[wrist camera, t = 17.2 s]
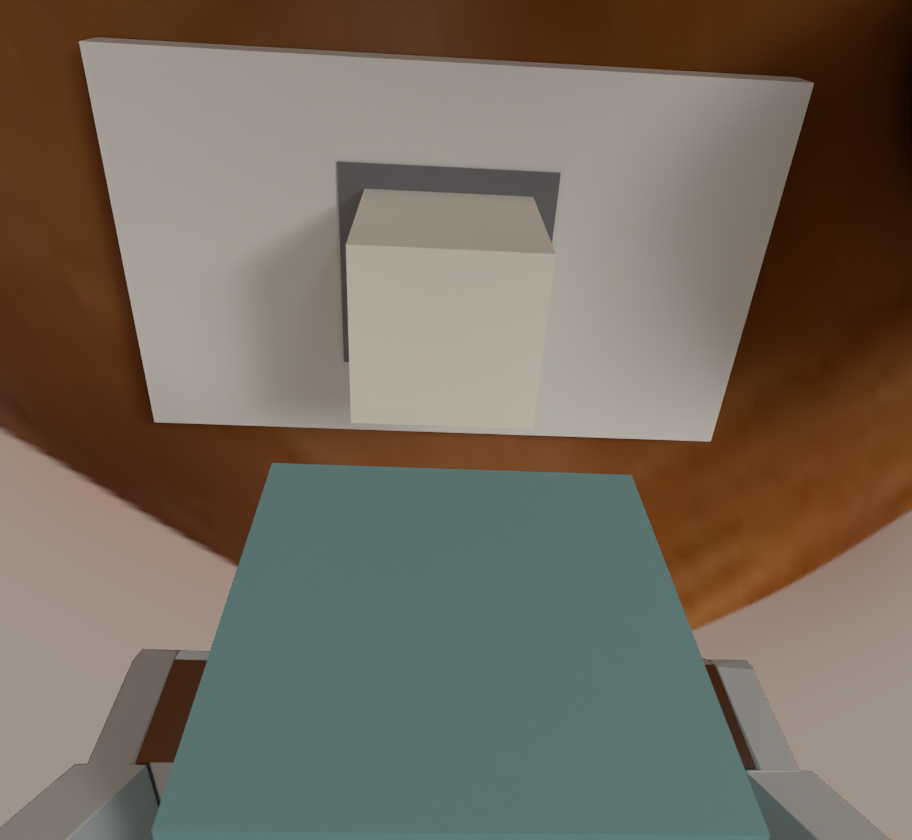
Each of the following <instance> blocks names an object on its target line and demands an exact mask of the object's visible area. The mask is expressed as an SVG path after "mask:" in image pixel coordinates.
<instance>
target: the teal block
mask: <svg viewBox="0 0 912 840" xmlns="http://www.w3.org/2000/svg"><path fill="white" fill-rule="evenodd" d="M151 832H152V836H153V839H154V840H768V839H769V837H770V833H769V831H768V828H767V826H766V823H765V820H764V818H763V815H762V813H761V810H760V807H759V805H758V802H757V800H756V797H755V794H754V792H753V789H752V787H751V784H750V781H749V779H748V776H747V774H746V771H745V768H744V766H743V763H742V761H741V758H740V755H739V753H738V750H737V748H736V745H735V742H734V740H733V737H732V735H731V732H730V729H729V727H728V724H727V722H726V719H725V716H724V714H723V711H722V709H721V706H720V704H719V701H718V698H717V696H716V693H715V691H714V688H713V685H712V683H711V680H710V678H709V675H708V672H707V670H706V667H705V665H704V662H703V659H702V657H701V654H700V652H699V649H698V646H697V644H696V641H695V639H694V636H693V633H692V631H691V628H690V626H689V623H688V620H687V618H686V615H685V613H684V610H683V607H682V605H681V602H680V600H679V597H678V594H677V592H676V589H675V587H674V584H673V581H672V579H671V576H670V574H669V571H668V568H667V566H666V563H665V561H664V558H663V555H662V553H661V550H660V548H659V545H658V542H657V540H656V537H655V535H654V532H653V529H652V527H651V524H650V522H649V519H648V516H647V514H646V511H645V509H644V506H643V503H642V501H641V498H640V496H639V493H638V491H637V488H636V485H635V483H634V480H633V478H632V475H617V474H587V473H557V472H527V471H497V470H467V469H437V468H407V467H377V466H346V465H316V464H286V463H272V465H271V468H270V471H269V474H268V477H267V480H266V483H265V486H264V489H263V492H262V495H261V498H260V501H259V504H258V507H257V510H256V513H255V517H254V520H253V523H252V526H251V529H250V532H249V535H248V538H247V541H246V544H245V547H244V550H243V553H242V556H241V559H240V562H239V565H238V568H237V571H236V574H235V577H234V580H233V583H232V586H231V590H230V593H229V596H228V599H227V602H226V605H225V608H224V611H223V614H222V617H221V620H220V623H219V626H218V629H217V632H216V635H215V638H214V641H213V644H212V647H211V650H210V653H209V656H208V659H207V663H206V666H205V669H204V672H203V675H202V678H201V681H200V684H199V687H198V690H197V693H196V696H195V699H194V702H193V705H192V708H191V711H190V714H189V717H188V720H187V723H186V726H185V729H184V732H183V736H182V739H181V742H180V745H179V748H178V751H177V754H176V757H175V760H174V763H173V766H172V769H171V772H170V775H169V778H168V781H167V784H166V787H165V790H164V793H163V796H162V799H161V802H160V805H159V809H158V812H157V815H156V818H155V821H154V824H153V827H152V830H151Z"/></svg>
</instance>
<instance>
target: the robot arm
mask: <svg viewBox="0 0 912 840" xmlns="http://www.w3.org/2000/svg"><path fill="white" fill-rule="evenodd" d="M209 653H210V652H209V651H187V650H152V649H151V650H150V649H142V650H141V651H140V653H139V654H138V655H137V656H136V657H135V658H134V660H133V661H132V663H131V666H130V668H129V671H128V673H127V675H126V677H125V679H124V682H123V684H122V686H121V689H120V691H119V693H118V695H117V698H116V700H115V702H114V704H113V707H112V709H111V711H110V713H109V716H108V718H107V720H106V722H105V725H104V727H103V729H102V732H101V734H100V736H99V738H98V741H97V743H96V745H95V748H94V750H93V752H92V754H91V757H90V759H89V761H88V763H87V764H75V765H73V766H72V767H71V768H70V769H69V770H68V771H66V772H65V773H64V774H63V775H62V776H61V777H59V778H58V779H57V780H56V781H54V782H53V783H52V784H51V785H50V786H49V787H47V789H45V790H44V791H43V792H42V793H40V794H39V795H38V796H37V797H36V798H35V799H33V800H32V801H31V802H30V803H28V804H27V805H26V806H25V807H24V808H23V809H21V810H20V811H19V812H18V813H17V814H15V815H14V817H12V818H11V819H10V820H8V821H7V822H6V823H5V824H4V825H3V826H1V827H0V840H154V839H153V836H152V832H151V830H152V827H153V824H154V821H155V818H156V815H157V812H158V809H159V805H160V802H161V799H162V796H163V793H164V790H165V787H166V784H167V781H168V778H169V775H170V772H171V769H172V766H173V763H174V760H175V757H176V754H177V751H178V748H179V745H180V742H181V739H182V736H183V732H184V729H185V726H186V723H187V720H188V717H189V714H190V711H191V708H192V705H193V702H194V699H195V696H196V693H197V690H198V687H199V684H200V681H201V678H202V675H203V672H204V669H205V666H206V663H207V659H208V656H209ZM703 662H704V665H705V667H706V670H707V672H708V675H709V678H710V680H711V683H712V685H713V688H714V691H715V693H716V696H717V698H718V701H719V704H720V706H721V709H722V711H723V714H724V716H725V719H726V722H727V724H728V727H729V729H730V732H731V735H732V737H733V740H734V742H735V745H736V748H737V750H738V753H739V755H740V758H741V761H742V763H743V766H744V768H745V771H746V774H747V776H748V779H749V781H750V784H751V787H752V789H753V792H754V794H755V797H756V800H757V802H758V805H759V807H760V810H761V813H762V815H763V818H764V820H765V823H766V826H767V828H768V831H769V833H770V837H769V839H768V840H891V839H889V838H888V837H887V836H886V835H885V834H884V833H883V832H881V831H880V830H879V829H878V828H877V827H876V826H874V825H873V824H872V823H871V822H870V821H869V820H868V819H866V818H865V817H864V816H863V815H862V814H860V812H858V811H857V810H856V809H855V808H854V807H853V806H851V805H850V804H849V803H848V802H847V801H846V800H844V799H843V798H842V797H841V796H840V795H839V794H837V792H835V791H834V790H833V789H832V788H831V787H829V786H828V785H827V784H826V783H825V782H824V781H823V780H822V779H820V778H819V777H818V776H817V775H816V774H815V773H813V772H812V771H801V770H800V768H799V766H798V764H797V762H796V760H795V758H794V755H793V753H792V751H791V749H790V747H789V745H788V743H787V740H786V738H785V736H784V734H783V732H782V729H781V727H780V725H779V723H778V721H777V719H776V717H775V714H774V712H773V710H772V708H771V706H770V703H769V701H768V699H767V697H766V695H765V693H764V690H763V688H762V686H761V684H760V682H759V680H758V677H757V675H756V673H755V671H754V669H753V667H752V666H751V665H750V664H749V663H748V662H747V661H746V660H713V659H710V660H706V659H703Z"/></svg>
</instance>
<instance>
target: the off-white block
mask: <svg viewBox="0 0 912 840" xmlns="http://www.w3.org/2000/svg"><path fill="white" fill-rule="evenodd" d="M555 257H556V253H555V251H554V248H553V245H552V243H551V240H550V238H549V235H548V233H547V230H546V228H545V225H544V223H543V220H542V218H541V215H540V213H539V210H538V208H537V205H536V202H535V200H534V197H527V196H506V195H486V194H465V193H445V192H424V191H404V190H383V189H364V191H363V194H362V197H361V200H360V203H359V206H358V209H357V212H356V215H355V218H354V221H353V224H352V227H351V230H350V233H349V236H348V239H347V242H346V270H347V305H348V341H349V376H350V411H351V423H367V424H395V425H424V426H453V427H482V428H510V429H533V426H534V418H535V410H536V403H537V395H538V387H539V380H540V372H541V364H542V357H543V349H544V341H545V334H546V326H547V318H548V311H549V303H550V295H551V288H552V280H553V272H554V265H555Z"/></svg>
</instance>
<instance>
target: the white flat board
mask: <svg viewBox="0 0 912 840" xmlns="http://www.w3.org/2000/svg"><path fill="white" fill-rule="evenodd" d="M79 45H80V50H81V55H82V60H83V65H84V70H85V75H86V80H87V85H88V90H89V95H90V101H91V106H92V111H93V116H94V121H95V126H96V131H97V136H98V141H99V146H100V151H101V156H102V161H103V166H104V171H105V176H106V181H107V186H108V191H109V196H110V201H111V206H112V211H113V216H114V221H115V226H116V232H117V237H118V242H119V247H120V252H121V257H122V262H123V267H124V272H125V277H126V282H127V287H128V292H129V297H130V302H131V307H132V312H133V317H134V322H135V327H136V332H137V337H138V342H139V347H140V352H141V358H142V363H143V368H144V373H145V378H146V383H147V388H148V393H149V398H150V403H151V408H152V413H153V418H154V422H160V423H189V424H217V425H246V426H275V427H304V428H333V429H362V430H391V431H420V432H449V433H478V434H507V435H536V436H565V437H594V438H623V439H652V440H681V441H710V442H711V439H712V435H713V432H714V429H715V425H716V422H717V418H718V415H719V411H720V408H721V404H722V401H723V397H724V394H725V390H726V387H727V384H728V380H729V377H730V373H731V370H732V366H733V363H734V359H735V356H736V352H737V349H738V345H739V342H740V339H741V335H742V332H743V328H744V325H745V321H746V318H747V314H748V311H749V307H750V304H751V300H752V297H753V293H754V290H755V287H756V283H757V280H758V276H759V273H760V269H761V266H762V262H763V259H764V255H765V252H766V248H767V245H768V242H769V238H770V235H771V231H772V228H773V224H774V221H775V217H776V214H777V210H778V207H779V203H780V200H781V197H782V193H783V190H784V186H785V183H786V179H787V176H788V172H789V169H790V165H791V162H792V158H793V155H794V151H795V148H796V145H797V141H798V138H799V134H800V131H801V127H802V124H803V120H804V117H805V113H806V110H807V106H808V103H809V100H810V96H811V93H812V89H813V86H814V83H813V82H810V81H806V80H803V79H800V78H797V77H783V76H766V75H748V74H731V73H714V72H696V71H679V70H661V69H644V68H626V67H609V66H591V65H574V64H556V63H539V62H521V61H504V60H486V59H469V58H451V57H434V56H416V55H399V54H381V53H364V52H346V51H329V50H312V49H294V48H277V47H259V46H242V45H224V44H207V43H189V42H172V41H154V40H137V39H119V38H102V37H95V38H91V39H86V40H82V41H79ZM364 189H383V190H404V191H424V192H445V193H465V194H486V195H506V196H527V197H534V200H535V202H536V205H537V208H538V210H539V213H540V215H541V218H542V220H543V223H544V225H545V228H546V230H547V233H548V235H549V238H550V240H551V243H552V245H553V248H554V251H555V253H556V257H555V265H554V272H553V280H552V288H551V295H550V303H549V311H548V318H547V326H546V334H545V341H544V349H543V357H542V364H541V372H540V380H539V387H538V395H537V403H536V410H535V418H534V426H533V429H510V428H482V427H453V426H424V425H395V424H367V423H351V411H350V376H349V341H348V305H347V270H346V242H347V239H348V236H349V233H350V230H351V227H352V224H353V221H354V218H355V215H356V212H357V209H358V206H359V203H360V200H361V197H362V194H363V191H364Z"/></svg>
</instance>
